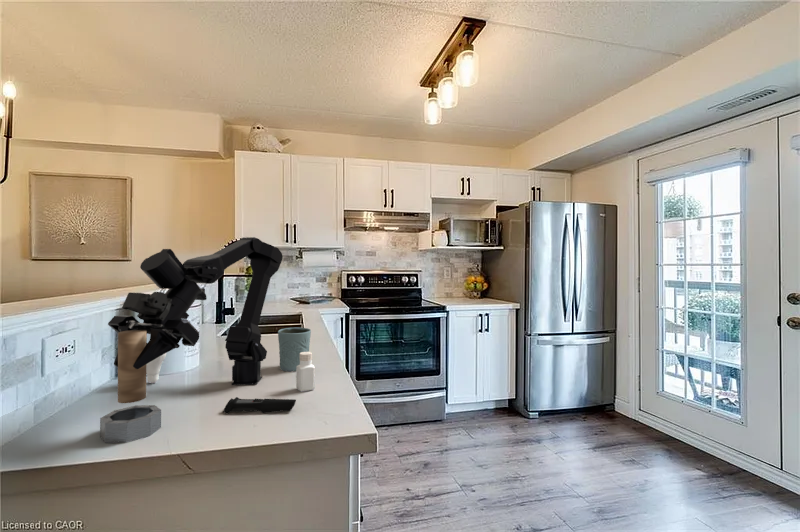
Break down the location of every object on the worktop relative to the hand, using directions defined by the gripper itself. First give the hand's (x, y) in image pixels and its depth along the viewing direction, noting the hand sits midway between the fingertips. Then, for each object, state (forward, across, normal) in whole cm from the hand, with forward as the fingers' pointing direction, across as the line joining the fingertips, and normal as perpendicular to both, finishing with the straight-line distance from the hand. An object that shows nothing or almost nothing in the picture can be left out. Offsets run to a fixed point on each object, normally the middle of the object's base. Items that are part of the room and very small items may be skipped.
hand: (125, 366), depth 72 cm
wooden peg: (+4, 0, +6) cm, 7 cm away
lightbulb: (-9, -23, +27) cm, 37 cm away
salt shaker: (-15, +18, +34) cm, 41 cm away
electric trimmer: (-3, +16, +22) cm, 28 cm away
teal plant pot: (-27, +4, +46) cm, 53 cm away
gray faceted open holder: (+8, 0, +10) cm, 13 cm away
